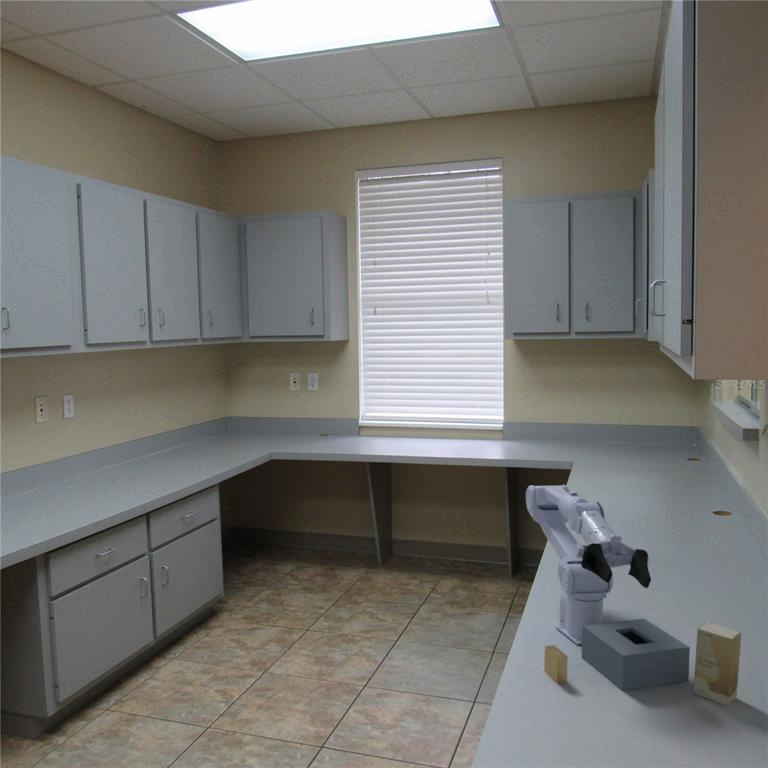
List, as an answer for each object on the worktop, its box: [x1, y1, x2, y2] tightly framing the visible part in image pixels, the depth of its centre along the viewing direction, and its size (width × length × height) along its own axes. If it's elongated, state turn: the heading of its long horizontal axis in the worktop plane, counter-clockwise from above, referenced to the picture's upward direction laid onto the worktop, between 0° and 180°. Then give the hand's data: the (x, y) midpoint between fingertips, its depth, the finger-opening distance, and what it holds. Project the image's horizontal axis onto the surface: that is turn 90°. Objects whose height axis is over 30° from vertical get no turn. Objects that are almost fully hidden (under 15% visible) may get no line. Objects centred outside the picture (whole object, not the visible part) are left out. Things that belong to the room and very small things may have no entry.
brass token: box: [543, 644, 568, 684], centre depth 138 cm, size 5×2×5 cm, turn 15°
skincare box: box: [692, 622, 742, 707], centre depth 130 cm, size 6×4×12 cm
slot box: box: [581, 618, 691, 691], centre depth 141 cm, size 14×14×6 cm
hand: (628, 580), depth 134 cm, fingers open, 7 cm apart
